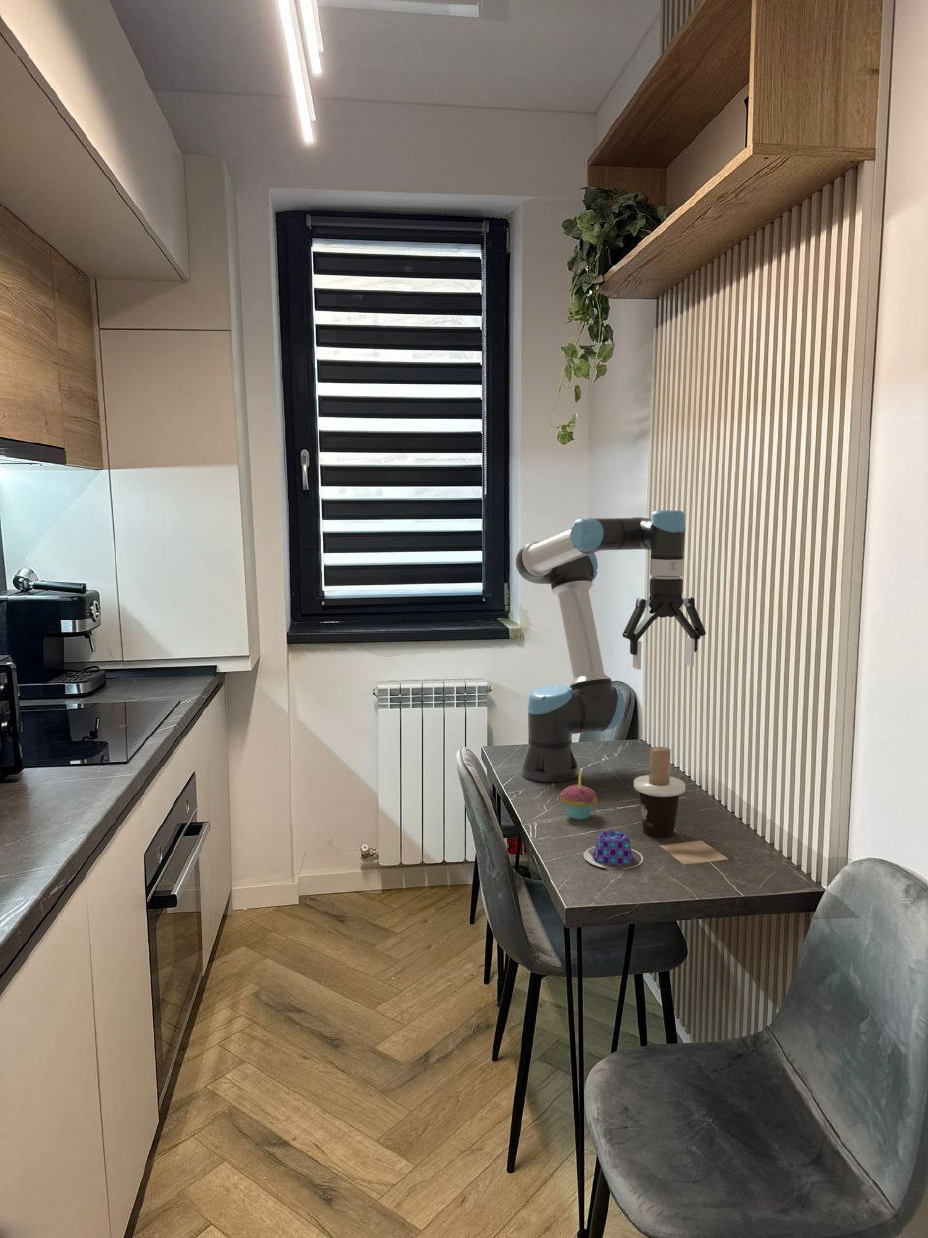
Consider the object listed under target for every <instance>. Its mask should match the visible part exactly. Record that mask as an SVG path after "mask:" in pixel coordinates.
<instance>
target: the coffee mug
mask: <svg viewBox="0 0 928 1238" xmlns="http://www.w3.org/2000/svg"><path fill="white" fill-rule="evenodd" d="M638 793H639V801H640V802H639V803H640V811H641V824H642V830H643V831H642V832H643V834H644V835H646V836H647V837H650V838H655V839H668V838H671V837H673V836H674V832H675V825H676V820H677V819H676V818H677V813H678V808H679V807H678V805H679V799H680V795H676V796H653V795H647V794H644V793H641V792H638Z"/></svg>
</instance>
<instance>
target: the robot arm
mask: <svg viewBox="0 0 928 1238" xmlns="http://www.w3.org/2000/svg"><path fill="white" fill-rule="evenodd" d="M685 538H686V516H685V513H684V512H683V511H682V510H665V509H664V510H653V512H652V514H651V518H649V517H648V518H647V517H643V516H642V517H640V516H639V517H627V518H625V517H621V518H620V517H619V518H617V517H616V518H614V517H613V518H612V517H611V518H607V517H606V518H600V517H599V518H596V517H588V518H579V519H577V520H574V522H573V524H572V525H571V527H570V529H568V530H565V531H564V532H561V533H558V534H556V535H555V536H552V537H550V538H548V539H545V540H543V541H539V540H537V541H534V540H533V541H532V542H530V543H527V544H525V545H524V546H522V547H521V548H520V549H519V551H518V552H517V554H516V557H515V566H516V570H517V572H518V573H519V575H520V576H521V577H522V578H523V579H525V580H526V581H528V582H530V583H532V584H538V585H546V584H547V585H549V584H550V588H551V592H552V594H554V595H555V596H557V597H558V602H559V607H560V613H561V617H562V622H563V623H562V624H563V629H564V634H565V639H566V644H567V649H568V655H569V661H570V666H571V674H572V678H573V679H572V681H571V683H570V684H569V685H565V684H563V685H562V684H559V685H545V686H541V687H540V688H537V689H536V688H535V689H534V690H533V691H532V692H531V693H530V694H529V697H528V706H527V712H528V713H527V714H528V715H527V717H528V718H527V719H528V720H527V726H528V727H527V731H528V733H527V737H528V738H527V741H528V742H527V744H528V745H527V748H526V752H525V754H524V757H523V761H522V764H521V775H522V776H523V777H524V778H525V779H529V780H531V781H536V782H542V783H562V782H563V783H564V782H567V781H572V780H574V779H576V778H577V777H579V765H578V762H577V760H576V759H577V758H576V756H575V752H574V750H573V745H572V744H573V741H572V740H573V735H575V734H583V733H591V732H592V733H593V732H605V731H608V730H612V729H615V728H617V727H618V726H619V725H620V724H621V722H622V719H623V718H624V715H625V707H626V704H625V696H624V694H623V691H621V689H620V688H619V687H618V686H616V685H613V681H612V678H611V677H610V676H608V675H607V674H606V673H605V671H604V670H605V669H604V664H603V659H602V653H601V648H600V644H599V640H598V639H599V638H598V633H597V628H596V622H595V617H594V612H593V608H592V607H593V606H592V601H591V596H590V590H591V589H592V587H593V585H594V583H593V581H595V579H596V578H597V575H598V569H599V568H598V567H599V565H598V558H597V555H596V554H595V553H598V552H600V551H612V550H613V551H621V550H622V551H623V550H625V551H627V550H632V551H633V550H649V551H650V560H649V562H650V565H649V567H650V568H649V575H650V576H651V577H650V579H649V597H648V599H645V598H641V597H638V598H636V601H635V607H634V610H633V612H632V614H631V615H630V618H629V620H628V622H627V624H626V626H625V628H624V630H623V632H622V637H623V638H625V639H627V640H629V644H630V645H629V654H631V655H632V668H634V669H635V670H641V668H642V643H643V642H642V641H640V639H641V638H642V637H643V635H644V633H645V632H646V631H647V630H648V629H649V628H650V626H651V624H653V623H654V621H656V620H657V619H658V618H661V619H662V618H673V617H674V618H675V619H676V620H677V621H678V623H679V624H680V626H681V628H683V629H684V632H685V633H686V634H687V635H688V636H689V637H686V638H685V653H684V654H685V655H684V659H685V660H684V665H686V666H688V667H691V668H692V667H695V666H694V665H695V662H694V661H695V660H694V659H695V653H697V652H698V644H699V643H698V640H700V639H701V637H704V636H706V634H707V633H706V629H705V628H704V624H703V622H702V620H701V618H700V615H699V613H698V611H697V607H696V603H695V602H696V601H695V597H693V596H692V597H691V596H685V597H682V595H683V591H684V590H683V588H684V585H683V584H684V579H683V578H682V577H683V575H684V562H685V561H684V559H685V558H684V557H685V541H686V539H685ZM682 606H684V607H685V609H686V610H685V611H686V612H687V615H688V617H689V619H690V621H688V619H687V617H686V616H685V614H684V613H683V611H682V610H681V608H682ZM648 607H649V610H648V611H647V612H646V614H645V616H644V617H643V618H642V616H643V614H644V613H645V609H646V608H648ZM641 619H642V620H641ZM640 620H641V621H640ZM690 622H691V623H690Z"/></svg>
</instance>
